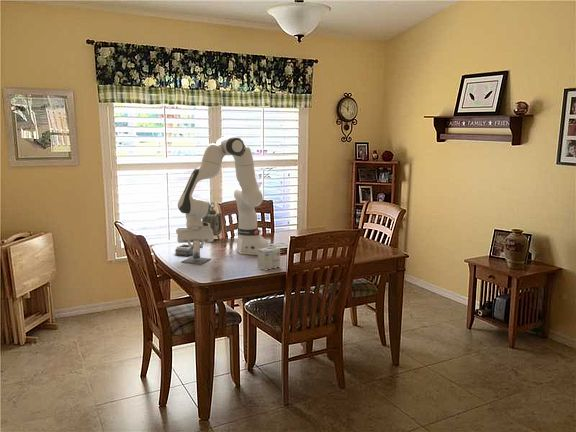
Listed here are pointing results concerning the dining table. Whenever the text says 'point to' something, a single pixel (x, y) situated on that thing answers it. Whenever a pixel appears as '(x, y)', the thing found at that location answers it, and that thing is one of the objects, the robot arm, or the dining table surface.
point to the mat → (196, 260)
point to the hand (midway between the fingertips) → (196, 247)
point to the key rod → (196, 249)
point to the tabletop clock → (214, 221)
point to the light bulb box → (268, 258)
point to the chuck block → (184, 250)
